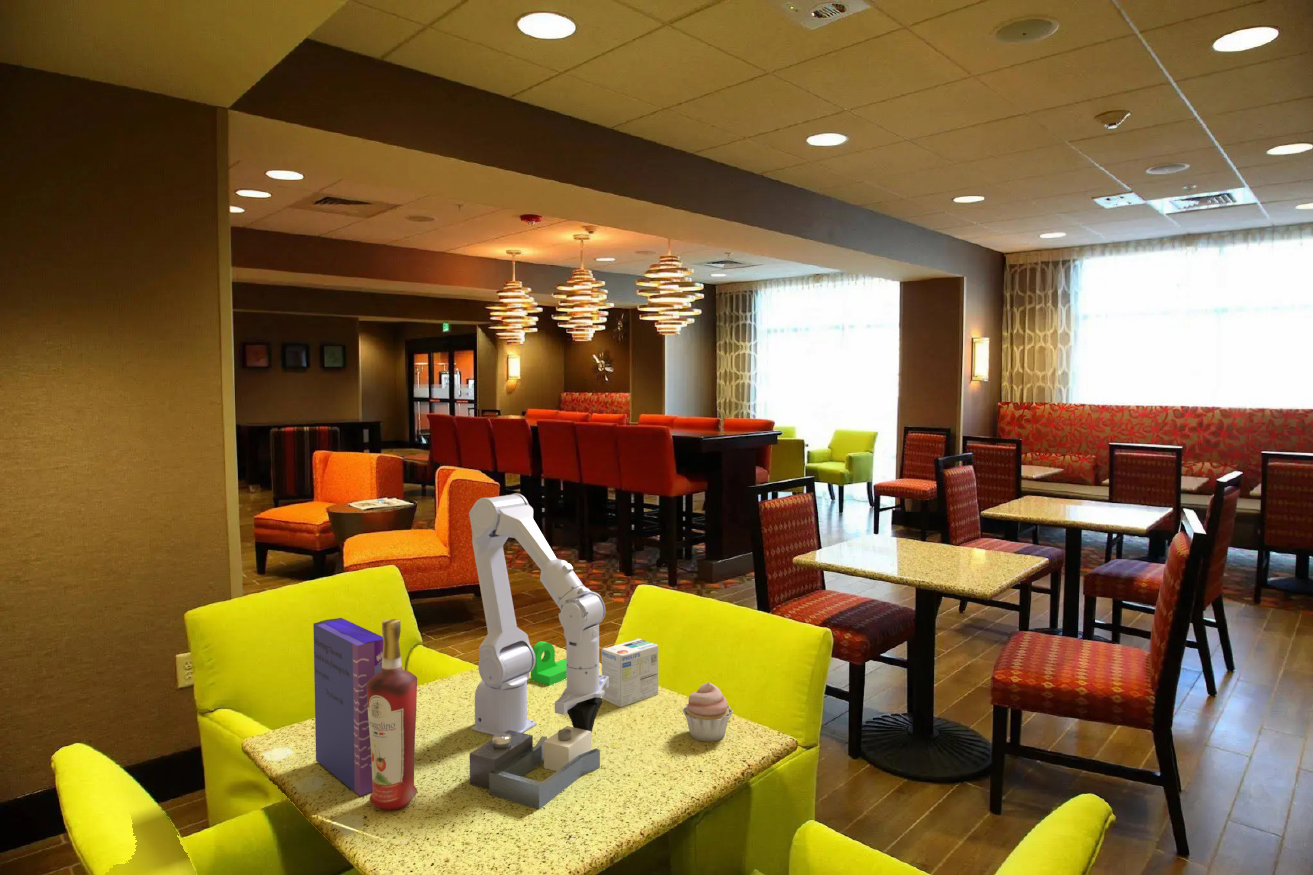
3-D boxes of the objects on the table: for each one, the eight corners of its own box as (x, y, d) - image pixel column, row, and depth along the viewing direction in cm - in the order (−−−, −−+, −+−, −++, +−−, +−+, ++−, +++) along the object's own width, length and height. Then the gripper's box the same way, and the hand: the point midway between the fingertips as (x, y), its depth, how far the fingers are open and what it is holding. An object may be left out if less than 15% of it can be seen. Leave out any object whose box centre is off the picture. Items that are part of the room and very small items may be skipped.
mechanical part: (549, 686, 165) (549, 649, 165) (530, 680, 169) (530, 644, 169) (587, 671, 175) (587, 636, 174) (568, 665, 178) (568, 632, 178)
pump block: (543, 767, 127) (543, 734, 127) (567, 751, 133) (567, 719, 133) (568, 774, 125) (568, 740, 124) (591, 757, 131) (591, 724, 131)
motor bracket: (464, 787, 120) (464, 749, 120) (525, 748, 134) (525, 713, 134) (545, 811, 113) (545, 770, 113) (601, 767, 127) (600, 730, 127)
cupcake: (696, 751, 133) (696, 694, 133) (673, 730, 142) (673, 677, 141) (742, 741, 137) (742, 686, 137) (717, 722, 146) (717, 670, 145)
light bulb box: (638, 686, 164) (638, 637, 164) (659, 695, 159) (659, 644, 159) (600, 699, 157) (599, 647, 157) (620, 708, 152) (620, 655, 152)
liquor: (357, 811, 113) (354, 626, 112) (387, 788, 120) (384, 613, 119) (400, 818, 111) (397, 630, 110) (428, 794, 118) (426, 616, 117)
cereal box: (389, 786, 121) (387, 637, 120) (360, 797, 117) (357, 644, 117) (343, 751, 133) (341, 616, 132) (315, 760, 130) (313, 622, 129)
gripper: (579, 680, 124) (579, 762, 125) (623, 655, 137) (623, 729, 138) (544, 673, 128) (544, 753, 128) (590, 649, 140) (590, 721, 141)
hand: (583, 740), depth 133 cm, fingers closed
